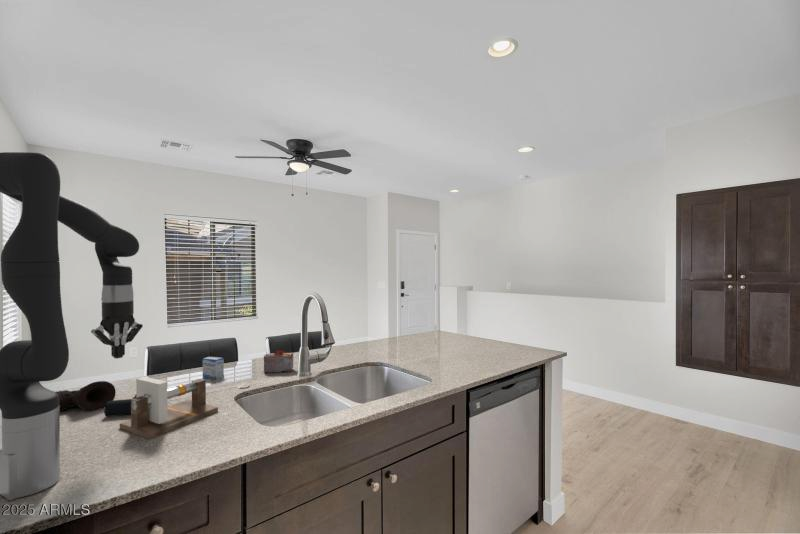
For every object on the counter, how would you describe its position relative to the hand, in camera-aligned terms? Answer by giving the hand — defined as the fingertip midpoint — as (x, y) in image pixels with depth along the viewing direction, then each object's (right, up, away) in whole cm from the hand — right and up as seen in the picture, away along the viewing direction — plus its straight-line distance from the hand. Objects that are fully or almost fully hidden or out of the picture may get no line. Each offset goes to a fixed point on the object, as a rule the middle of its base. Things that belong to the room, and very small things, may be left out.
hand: (118, 357), depth 108 cm
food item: (+27, -23, +64) cm, 73 cm away
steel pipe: (+10, -16, +10) cm, 21 cm away
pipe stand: (+10, -23, +10) cm, 26 cm away
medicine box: (0, -23, +55) cm, 60 cm away
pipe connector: (-7, -23, +18) cm, 31 cm away
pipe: (-29, -23, +20) cm, 42 cm away
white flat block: (+7, -20, +4) cm, 22 cm away
